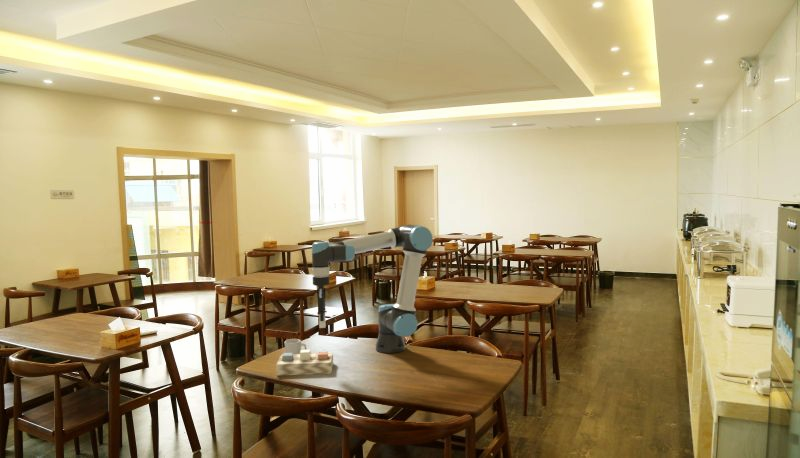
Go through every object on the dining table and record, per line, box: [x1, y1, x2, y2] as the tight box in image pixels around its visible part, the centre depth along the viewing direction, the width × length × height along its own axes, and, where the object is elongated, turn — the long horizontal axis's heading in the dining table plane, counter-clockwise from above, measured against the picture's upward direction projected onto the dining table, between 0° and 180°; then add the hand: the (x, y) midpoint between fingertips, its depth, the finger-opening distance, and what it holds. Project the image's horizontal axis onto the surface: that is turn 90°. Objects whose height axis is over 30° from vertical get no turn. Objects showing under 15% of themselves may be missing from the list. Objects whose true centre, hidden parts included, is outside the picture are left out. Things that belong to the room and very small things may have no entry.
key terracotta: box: [317, 351, 329, 360], centre depth 238 cm, size 4×4×5 cm
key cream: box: [300, 348, 312, 360], centre depth 238 cm, size 4×4×5 cm
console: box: [275, 352, 334, 377], centre depth 238 cm, size 24×14×5 cm, turn 94°
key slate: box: [281, 352, 293, 361], centre depth 237 cm, size 4×4×5 cm
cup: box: [284, 338, 307, 354], centre depth 256 cm, size 11×8×8 cm
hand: (322, 327), depth 237 cm, fingers closed
